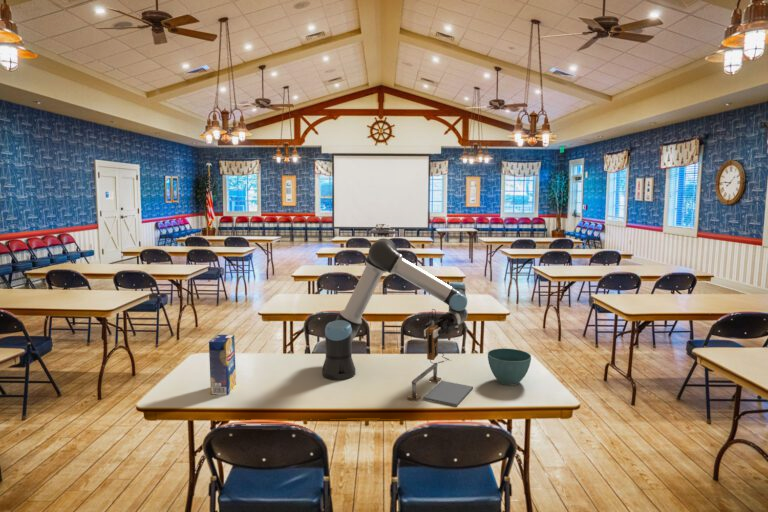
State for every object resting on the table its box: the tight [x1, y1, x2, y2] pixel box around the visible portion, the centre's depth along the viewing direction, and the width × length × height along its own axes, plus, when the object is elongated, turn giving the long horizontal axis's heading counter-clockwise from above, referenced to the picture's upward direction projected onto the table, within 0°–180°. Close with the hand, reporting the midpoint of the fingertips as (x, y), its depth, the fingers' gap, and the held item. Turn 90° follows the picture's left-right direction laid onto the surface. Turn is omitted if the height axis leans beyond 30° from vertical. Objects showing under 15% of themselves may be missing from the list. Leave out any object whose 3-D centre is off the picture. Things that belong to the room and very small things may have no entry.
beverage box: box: [208, 334, 237, 396], centre depth 204 cm, size 7×11×22 cm, turn 0°
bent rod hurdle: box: [407, 363, 442, 402], centre depth 206 cm, size 4×26×8 cm, turn 152°
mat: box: [422, 380, 474, 407], centre depth 202 cm, size 14×20×1 cm
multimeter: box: [426, 308, 452, 365], centre depth 202 cm, size 15×10×20 cm
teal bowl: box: [487, 348, 532, 386], centre depth 215 cm, size 18×18×12 cm
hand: (429, 333), depth 200 cm, fingers closed on multimeter, 3 cm apart
